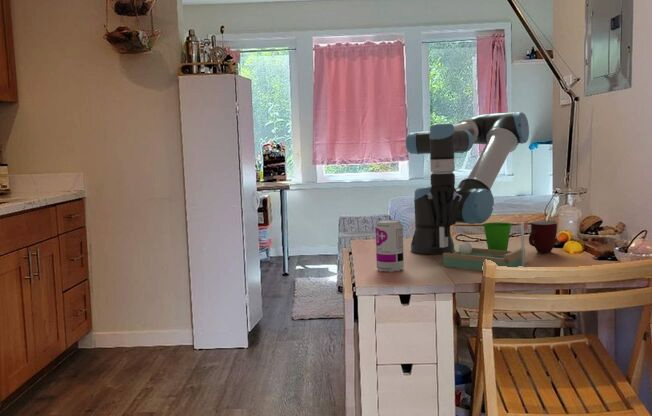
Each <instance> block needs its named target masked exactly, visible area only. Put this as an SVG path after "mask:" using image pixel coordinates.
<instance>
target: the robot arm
mask: <svg viewBox="0 0 652 416" xmlns="http://www.w3.org/2000/svg"><path fill="white" fill-rule="evenodd" d="M529 135H530V125H529V121H528V117H527V116H526V114H525V113H524V112H522V111H512V112H511V111H510V112H499V113H498V112H497V113H495V112H494V113H486V114H485V113H483V114H480V115H476V116H472V117H470V118H466V119H462V120H460V121H459V122H458V123H456V124H453V123H449V122H448V123H433V124H431V125H430V127H429V130H424V131H415V132H414V131H413V132H409V133H408V135H407V136H406V138H405V148H406V150H407V152H408V153H409V154H411V155H424V154H425V155H426V154H430V155H429V156H430V157H429V158H430V159H429V163H430V164H429V165H430V172H431V174H430V186H429V185H428V186H422V187H419V188H418V187H417V188H415V191H414V198H413V199H414V200H413V202H414V227H415V228H414V230H415V231H414V233H413V236H412V240H411V242H410V252H412V253H415V254H421V255H441V254H442V255H443V253H444V252H445V253H454V252H455V243H454V241H453V237H452V234H451V226H454V225H456V224H468V225H476V224H479V225H480V224H485V223H486V222H487V221H488V220H489V219H490V217H491V215H492V213H493V211H494V208H493V207H494V205H495V202H494V201H495V200H494V199H495V198H494V195H493V193H492V190H491V189H492V186H493V185H494V183H495V181H496V179H497V178H498V175H499V173H500V172H501V169H502V167H503V166H504V163H505V162H506V159H507V157H508V155H509V154H510V153H512V152H515V150H516V149H517V147H518V145H519V144H522V145H523V144H526V143H527V142H528V140H529V137H530V136H529ZM474 145H484V148H483V149H482V151H481V152H480V155H479V157H478V159H477V161H476V162H475V164H474V166H473V168H472V169H471V171H470V174H469V175H468V176H467V178H464V179H462V180H461V181H460V182H459V184H458V186H457V187H455V184H456V175H455V173H454V172H455V171H456V169H455V168H456V167H455V164H456V163H455V162H456V161H455V154H464V153H467V152H468V151H471V149H472V148H473V146H474Z"/></svg>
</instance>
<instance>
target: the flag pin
mask: <svg viewBox="0 0 652 416" xmlns="http://www.w3.org/2000/svg"><path fill="white" fill-rule="evenodd" d="M520 226H521V228H520V229H521V234H520V235H521V236H520V237H521V239H520V240H521V241H520V242H521V245H520V246H521V247H520V248H521V249H522V266H523V267H526V263H525V264H524V249H525V231H526V230H528V221H525V222H521V224H520Z"/></svg>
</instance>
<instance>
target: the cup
mask: <svg viewBox="0 0 652 416" xmlns="http://www.w3.org/2000/svg"><path fill="white" fill-rule="evenodd" d="M482 226H483V227H484V232H485V233H484V234H485V239H486V245H487V249H492V250H503V251H508V247H509V240H510V235H511V234H510V233H511V228H512V223H511V222H501V221H499V222H495V221H494V222H484V223H482Z"/></svg>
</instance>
